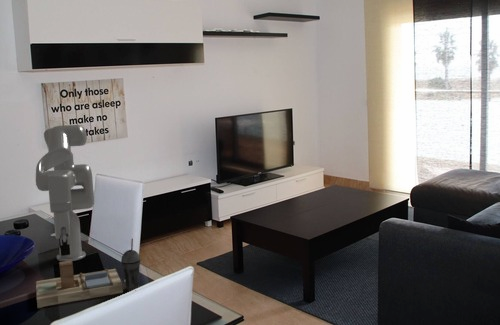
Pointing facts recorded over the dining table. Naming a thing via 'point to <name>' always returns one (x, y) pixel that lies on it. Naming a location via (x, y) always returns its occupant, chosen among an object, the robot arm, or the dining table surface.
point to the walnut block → (66, 274)
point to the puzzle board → (75, 289)
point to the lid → (97, 279)
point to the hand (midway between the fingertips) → (64, 251)
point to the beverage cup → (131, 268)
